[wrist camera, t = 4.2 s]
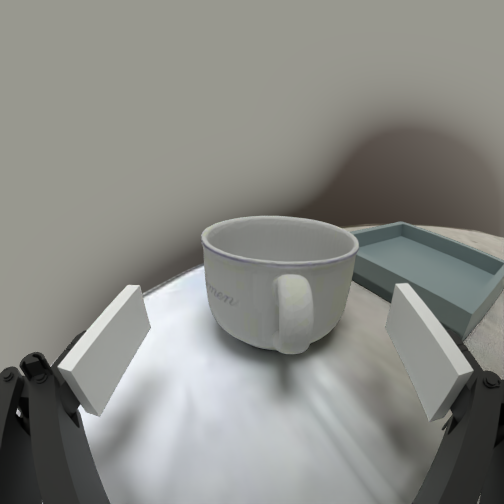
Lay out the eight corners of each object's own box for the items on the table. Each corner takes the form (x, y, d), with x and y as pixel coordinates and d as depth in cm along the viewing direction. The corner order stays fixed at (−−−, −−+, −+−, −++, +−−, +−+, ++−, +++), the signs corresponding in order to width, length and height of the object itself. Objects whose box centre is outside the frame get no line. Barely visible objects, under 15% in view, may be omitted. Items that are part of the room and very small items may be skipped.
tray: (399, 239, 39) (401, 221, 38) (505, 286, 22) (511, 264, 21) (319, 261, 33) (320, 237, 32) (459, 345, 16) (472, 314, 15)
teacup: (231, 288, 27) (225, 210, 24) (340, 294, 25) (347, 213, 22) (176, 394, 15) (143, 281, 12) (356, 412, 13) (393, 295, 10)
